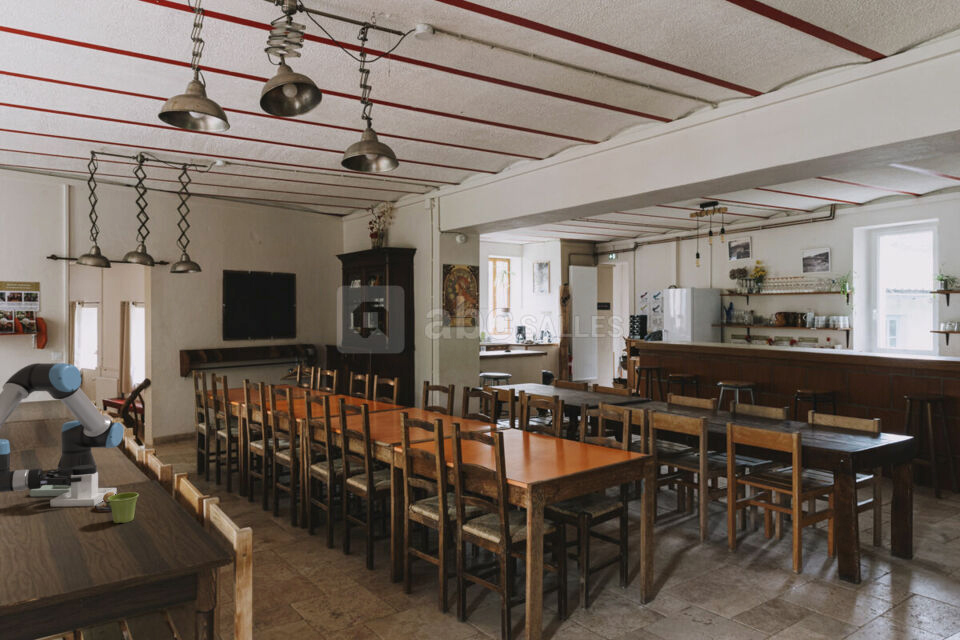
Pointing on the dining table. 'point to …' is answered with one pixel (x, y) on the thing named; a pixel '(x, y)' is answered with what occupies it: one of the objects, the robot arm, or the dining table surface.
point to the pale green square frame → (50, 490)
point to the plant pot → (123, 506)
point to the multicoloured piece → (104, 504)
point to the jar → (85, 488)
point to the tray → (67, 501)
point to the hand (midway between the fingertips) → (94, 473)
